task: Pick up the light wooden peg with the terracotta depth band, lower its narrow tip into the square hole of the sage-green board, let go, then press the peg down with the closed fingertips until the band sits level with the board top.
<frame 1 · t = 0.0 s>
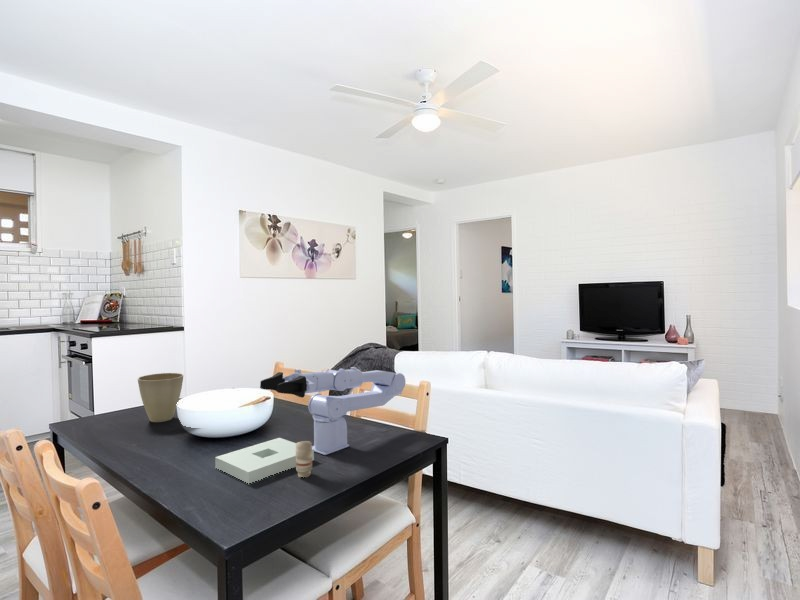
hand: (269, 386, 118), 22 cm above the table, tool horizontal, fingers open, 7 cm apart
plant pot: (162, 420, 167), on the table
board: (265, 464, 122), on the table
peg: (304, 474, 115), on the table
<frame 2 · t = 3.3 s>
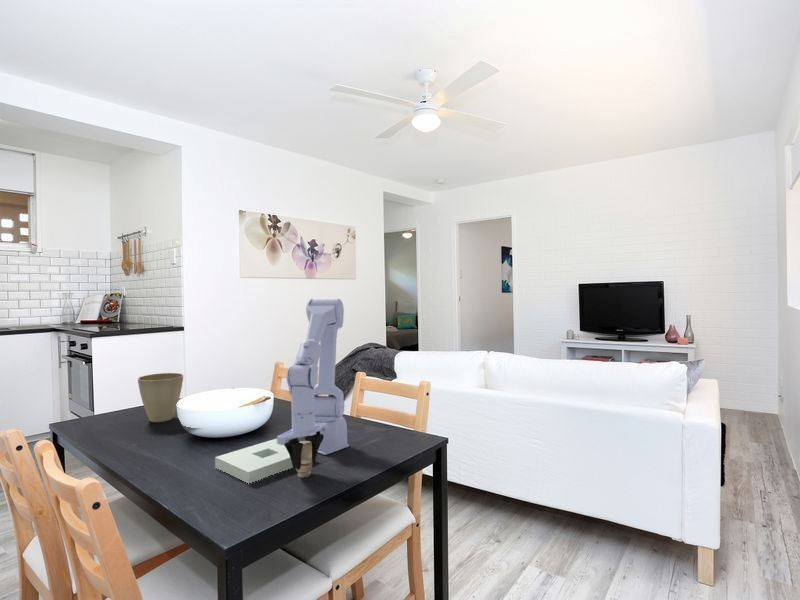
hand: (304, 465, 115), 2 cm above the table, tool pointing down, fingers closed on peg, 4 cm apart
peg: (304, 474, 115), on the table, touching gripper
everything else where it was.
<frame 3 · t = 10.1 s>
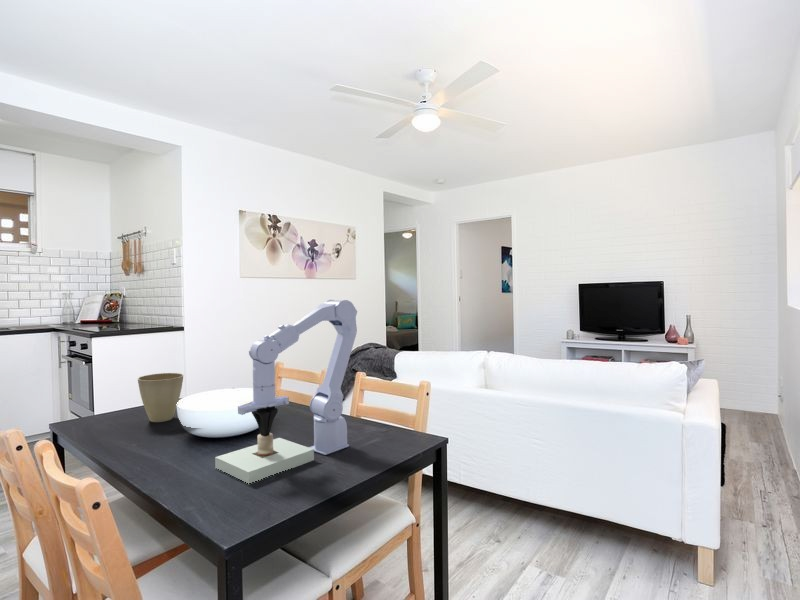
hand: (264, 435, 122), 8 cm above the table, tool pointing down, fingers closed, pressing on peg
peg: (265, 464, 122), resting in board, touching gripper
everything else where it was.
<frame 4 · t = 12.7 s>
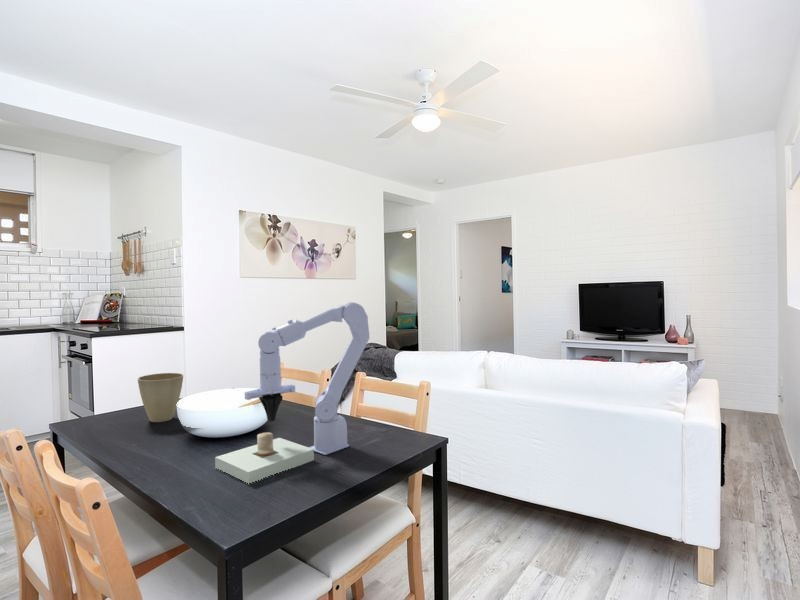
hand: (271, 420, 131), 9 cm above the table, tool pointing down, fingers closed
peg: (265, 464, 122), resting in board
everything else where it was.
at the end: peg 0.1 cm off-centre on the board, point 0.0 cm above the board's base; peg tilted 1°; the gripper is holding nothing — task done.
